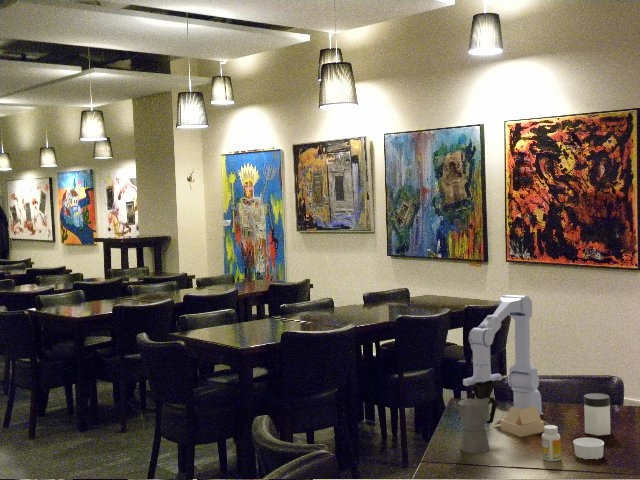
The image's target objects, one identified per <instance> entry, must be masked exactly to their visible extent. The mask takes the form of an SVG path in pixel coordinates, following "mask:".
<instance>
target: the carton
mask: <svg viewBox="0 0 640 480" xmlns="http://www.w3.org/2000/svg"><path fill="white" fill-rule="evenodd" d="M501 419H502V420H500V419H499V420H500V421H501V424H500V431H503V432H505V433H508V434H511V435H514V436H517V437H519V438H522V437H527V436H531V435H537V434H541V433H542V434H543V433H545V432H544V426H545V425H544V422H543V421H544V420H543V421H538V422H534V423H529V424H524V425H522V423H521V419H520V416H519V418H518V420H517V423H516V424H515V423H512V422H509V421H506V420H505V419H503V418H501Z"/></svg>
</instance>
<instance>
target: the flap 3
mask: <svg viewBox="0 0 640 480" xmlns="http://www.w3.org/2000/svg"><path fill="white" fill-rule="evenodd" d="M518 413H519V416H520V419H521V423H522V425H524V424H529V423H534V422H538V421H541V420H542V418H541V415H539V412H538V409H537V406H534V407H529V408H524V409H519V410H518Z"/></svg>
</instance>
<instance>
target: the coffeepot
mask: <svg viewBox="0 0 640 480" xmlns="http://www.w3.org/2000/svg"><path fill="white" fill-rule="evenodd" d="M469 394H470V398H465V399H461V400H459V401H458V403H457V404H455V405H454V408H456V409H457V411H458V412H459V414H460V418H461V419H460V420H461V423H462V425H463V428H462V431H461V439H460V446H459V447H460V450H461V451H462V452H463V453H466V454H471V455H472V454H475V455H476V454H479V455H480V454H484V453H488V452H489V451H490V444H489V439H488V434H487V430H486V427H485V426H486V424H488V425H489V424H492V423H494V422H493V421H494V419H495V415H496V411H497V406H498V401H497V400H496V399H495V398H494V397H492V396H490V398H483V399H476V396H475V393H474V392H470V393H469ZM490 404H491V407H490V413H489V420H487V418H488V417H487V416H488V408H489V405H490Z"/></svg>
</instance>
